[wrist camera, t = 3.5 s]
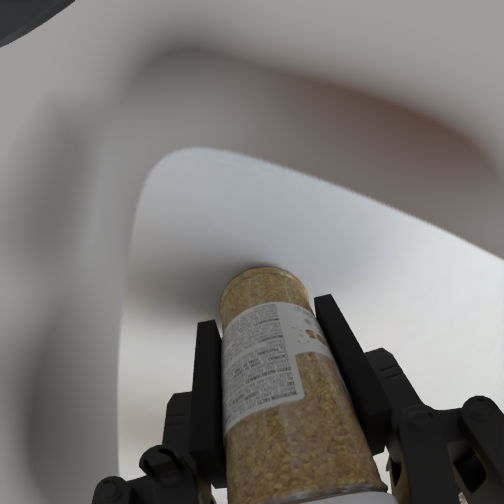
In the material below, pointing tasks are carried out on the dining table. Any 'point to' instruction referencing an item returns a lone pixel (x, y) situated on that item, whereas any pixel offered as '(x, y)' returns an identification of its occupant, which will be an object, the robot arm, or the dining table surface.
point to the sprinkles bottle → (287, 402)
